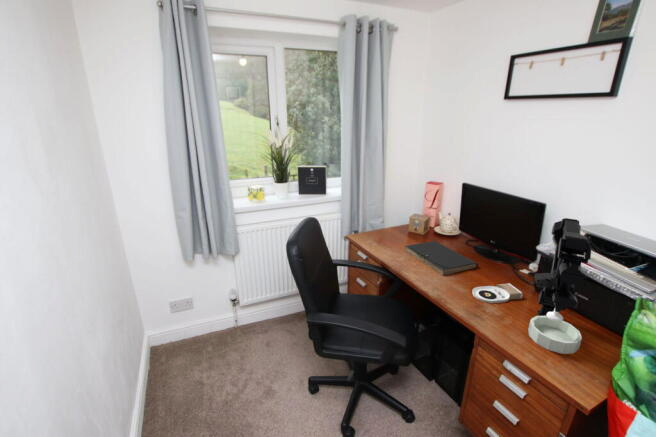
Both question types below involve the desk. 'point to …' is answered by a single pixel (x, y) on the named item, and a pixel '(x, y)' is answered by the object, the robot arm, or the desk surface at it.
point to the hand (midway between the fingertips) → (556, 309)
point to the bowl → (554, 335)
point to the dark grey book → (440, 257)
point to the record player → (496, 293)
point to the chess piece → (554, 316)
